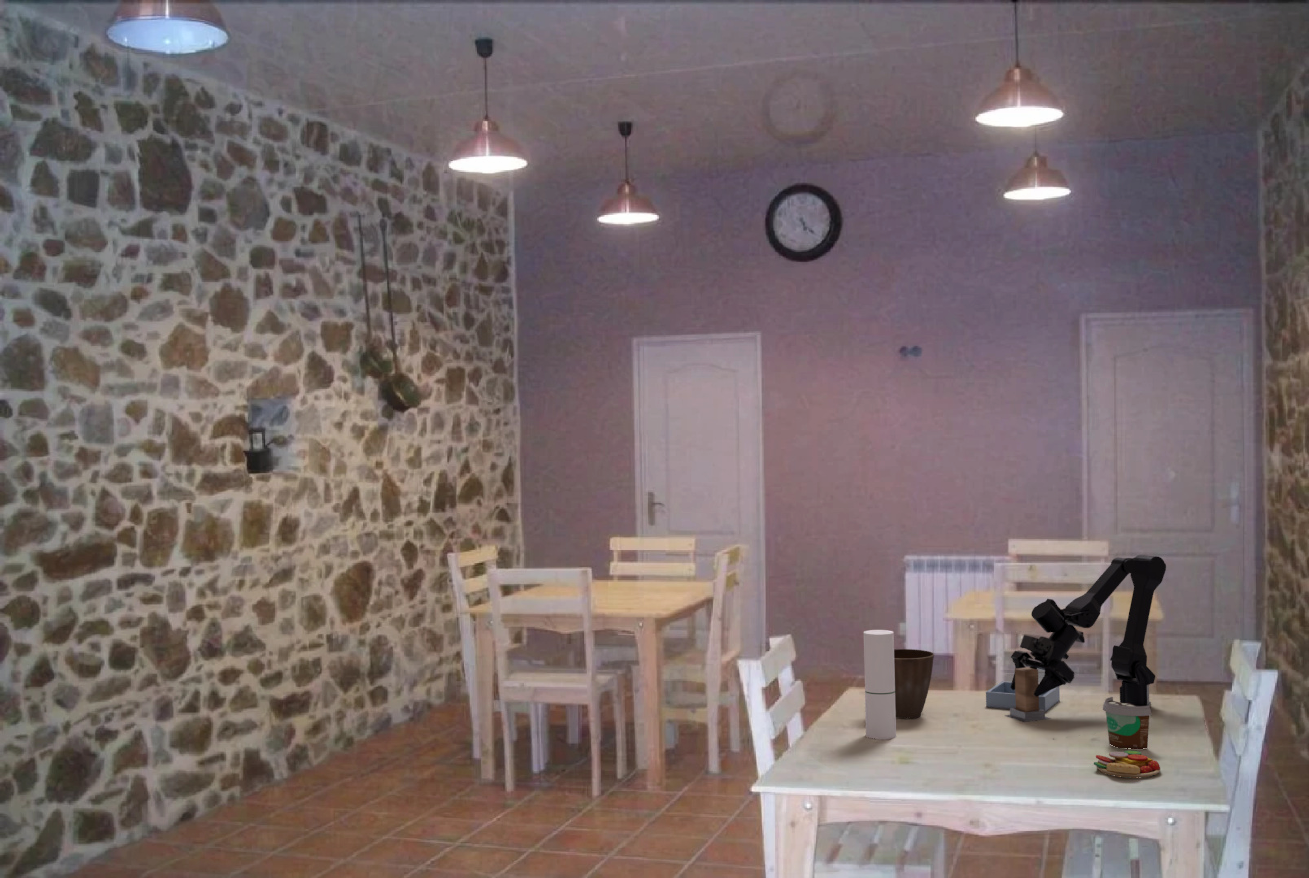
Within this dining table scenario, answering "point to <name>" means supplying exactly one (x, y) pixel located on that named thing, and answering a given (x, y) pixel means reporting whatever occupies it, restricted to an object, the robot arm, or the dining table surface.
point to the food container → (1127, 724)
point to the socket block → (1027, 715)
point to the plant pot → (911, 681)
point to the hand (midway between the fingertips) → (1023, 692)
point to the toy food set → (1127, 764)
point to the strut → (1026, 689)
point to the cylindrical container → (879, 684)
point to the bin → (1006, 697)
